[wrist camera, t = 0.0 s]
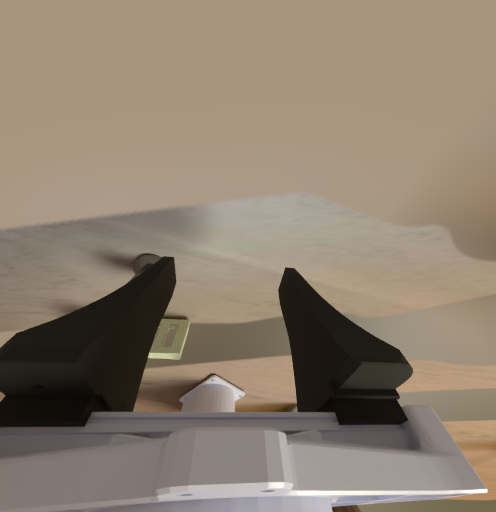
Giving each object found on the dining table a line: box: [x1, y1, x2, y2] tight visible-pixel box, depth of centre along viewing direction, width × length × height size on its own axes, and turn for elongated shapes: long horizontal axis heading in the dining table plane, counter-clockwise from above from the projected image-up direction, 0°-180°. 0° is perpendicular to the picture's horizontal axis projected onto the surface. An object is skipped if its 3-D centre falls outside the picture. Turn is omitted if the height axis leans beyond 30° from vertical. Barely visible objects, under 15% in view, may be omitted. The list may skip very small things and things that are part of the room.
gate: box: [148, 319, 190, 359], centre depth 24 cm, size 12×2×6 cm, turn 82°
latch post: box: [129, 254, 161, 282], centre depth 20 cm, size 4×4×6 cm
